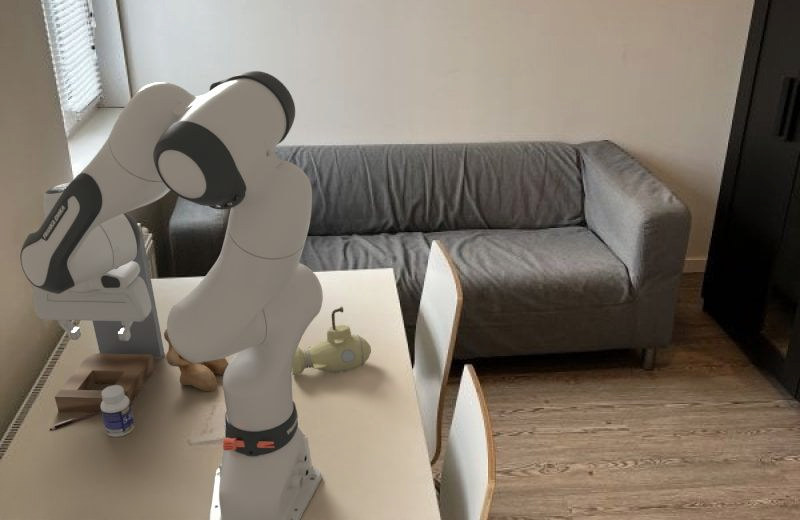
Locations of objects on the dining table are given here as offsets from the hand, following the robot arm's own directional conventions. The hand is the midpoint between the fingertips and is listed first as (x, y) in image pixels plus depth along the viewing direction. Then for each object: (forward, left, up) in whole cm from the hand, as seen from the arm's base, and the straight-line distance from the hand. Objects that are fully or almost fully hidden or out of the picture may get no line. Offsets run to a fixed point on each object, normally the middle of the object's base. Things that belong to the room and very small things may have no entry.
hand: (100, 338), depth 141 cm
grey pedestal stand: (+22, +8, -20) cm, 31 cm away
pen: (+2, +9, -21) cm, 23 cm away
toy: (+22, -38, -21) cm, 48 cm away
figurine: (+17, -10, -21) cm, 29 cm away
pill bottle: (0, 0, -21) cm, 21 cm away
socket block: (+13, +8, -20) cm, 25 cm away
